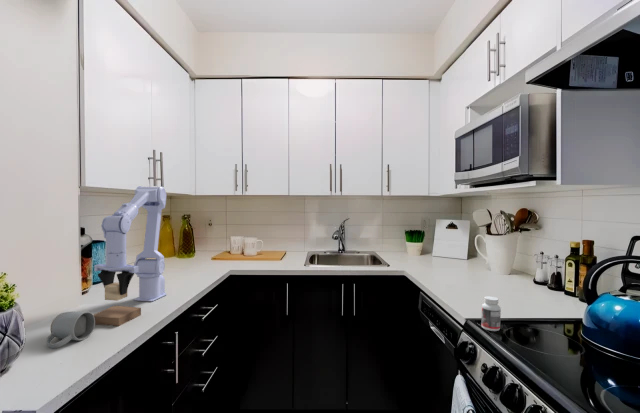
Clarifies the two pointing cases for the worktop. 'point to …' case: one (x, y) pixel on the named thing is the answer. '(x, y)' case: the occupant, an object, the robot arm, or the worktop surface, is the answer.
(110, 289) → the oak cube
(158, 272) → the robot arm
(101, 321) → the walnut block
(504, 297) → the worktop surface
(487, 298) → the pill bottle
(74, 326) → the ceramic mug
